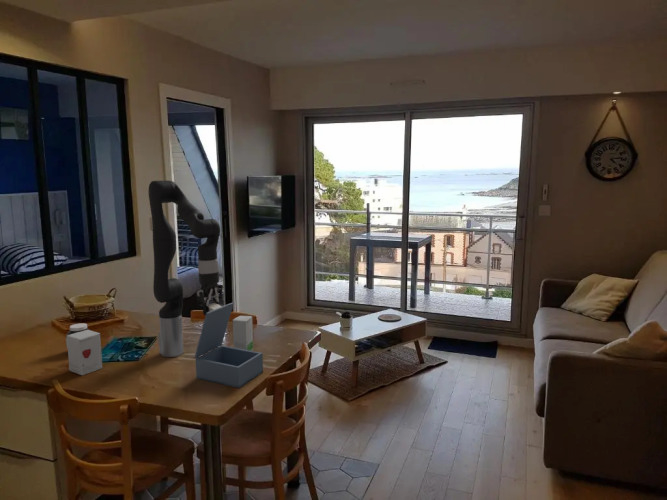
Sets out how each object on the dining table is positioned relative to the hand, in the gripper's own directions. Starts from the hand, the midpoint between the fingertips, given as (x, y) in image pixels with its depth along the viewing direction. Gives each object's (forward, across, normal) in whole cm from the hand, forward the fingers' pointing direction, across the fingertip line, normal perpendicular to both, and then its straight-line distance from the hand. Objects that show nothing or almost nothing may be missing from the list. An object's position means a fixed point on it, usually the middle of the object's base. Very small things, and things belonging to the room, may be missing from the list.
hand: (211, 313), depth 186 cm
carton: (+24, 0, +8) cm, 26 cm away
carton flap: (+7, 0, +1) cm, 7 cm away
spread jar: (+23, +8, -67) cm, 72 cm away
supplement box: (+23, +20, -48) cm, 57 cm away
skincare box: (+24, -23, -2) cm, 34 cm away
